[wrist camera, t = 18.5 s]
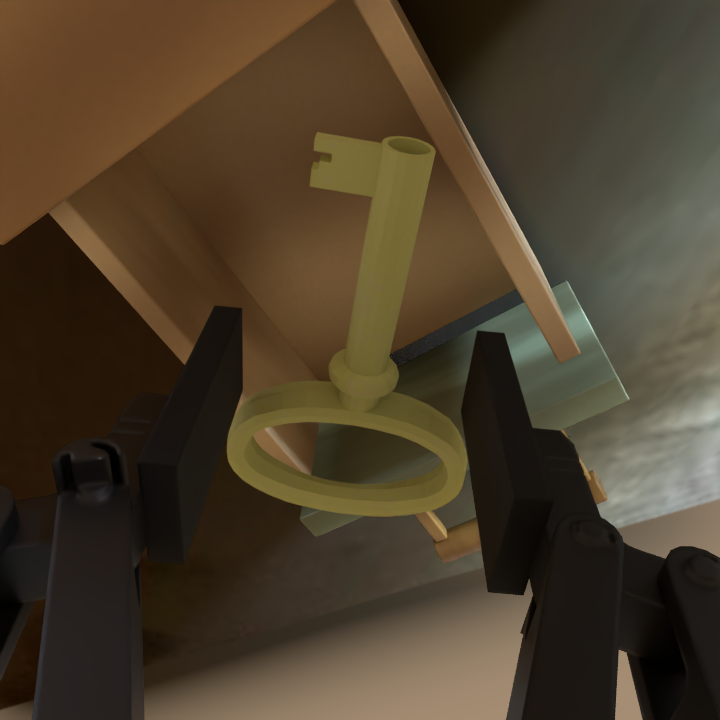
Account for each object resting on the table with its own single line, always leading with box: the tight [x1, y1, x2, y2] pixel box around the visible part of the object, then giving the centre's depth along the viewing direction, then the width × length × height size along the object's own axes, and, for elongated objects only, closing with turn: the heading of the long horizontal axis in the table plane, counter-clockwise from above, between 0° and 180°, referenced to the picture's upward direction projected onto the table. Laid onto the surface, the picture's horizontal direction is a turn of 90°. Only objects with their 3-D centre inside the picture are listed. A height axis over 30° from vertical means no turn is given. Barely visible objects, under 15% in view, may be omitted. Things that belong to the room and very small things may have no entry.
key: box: [227, 132, 467, 516], centre depth 18 cm, size 7×12×2 cm, turn 9°
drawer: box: [48, 0, 629, 563], centre depth 26 cm, size 25×13×8 cm, turn 33°
